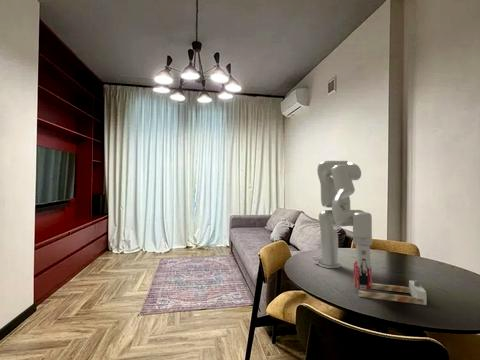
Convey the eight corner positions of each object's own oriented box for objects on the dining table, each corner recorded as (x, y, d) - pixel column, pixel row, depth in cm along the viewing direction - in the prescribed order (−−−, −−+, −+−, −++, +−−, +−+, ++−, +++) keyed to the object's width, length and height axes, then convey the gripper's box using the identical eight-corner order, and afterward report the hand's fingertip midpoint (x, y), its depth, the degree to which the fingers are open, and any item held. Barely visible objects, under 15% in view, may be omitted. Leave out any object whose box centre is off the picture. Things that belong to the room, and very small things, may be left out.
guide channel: (359, 296, 110) (358, 291, 110) (356, 285, 122) (356, 281, 122) (423, 304, 103) (423, 299, 103) (414, 292, 114) (414, 287, 114)
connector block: (417, 303, 104) (417, 285, 104) (409, 291, 115) (408, 275, 115) (426, 304, 103) (426, 286, 103) (417, 292, 114) (416, 276, 114)
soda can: (366, 285, 119) (366, 258, 119) (375, 291, 112) (374, 263, 112) (351, 285, 119) (350, 258, 119) (358, 292, 112) (358, 263, 112)
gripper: (374, 245, 106) (375, 290, 106) (369, 237, 123) (369, 275, 123) (354, 244, 109) (354, 287, 109) (351, 236, 125) (351, 273, 125)
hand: (362, 281), depth 116 cm, fingers closed on soda can, 6 cm apart
